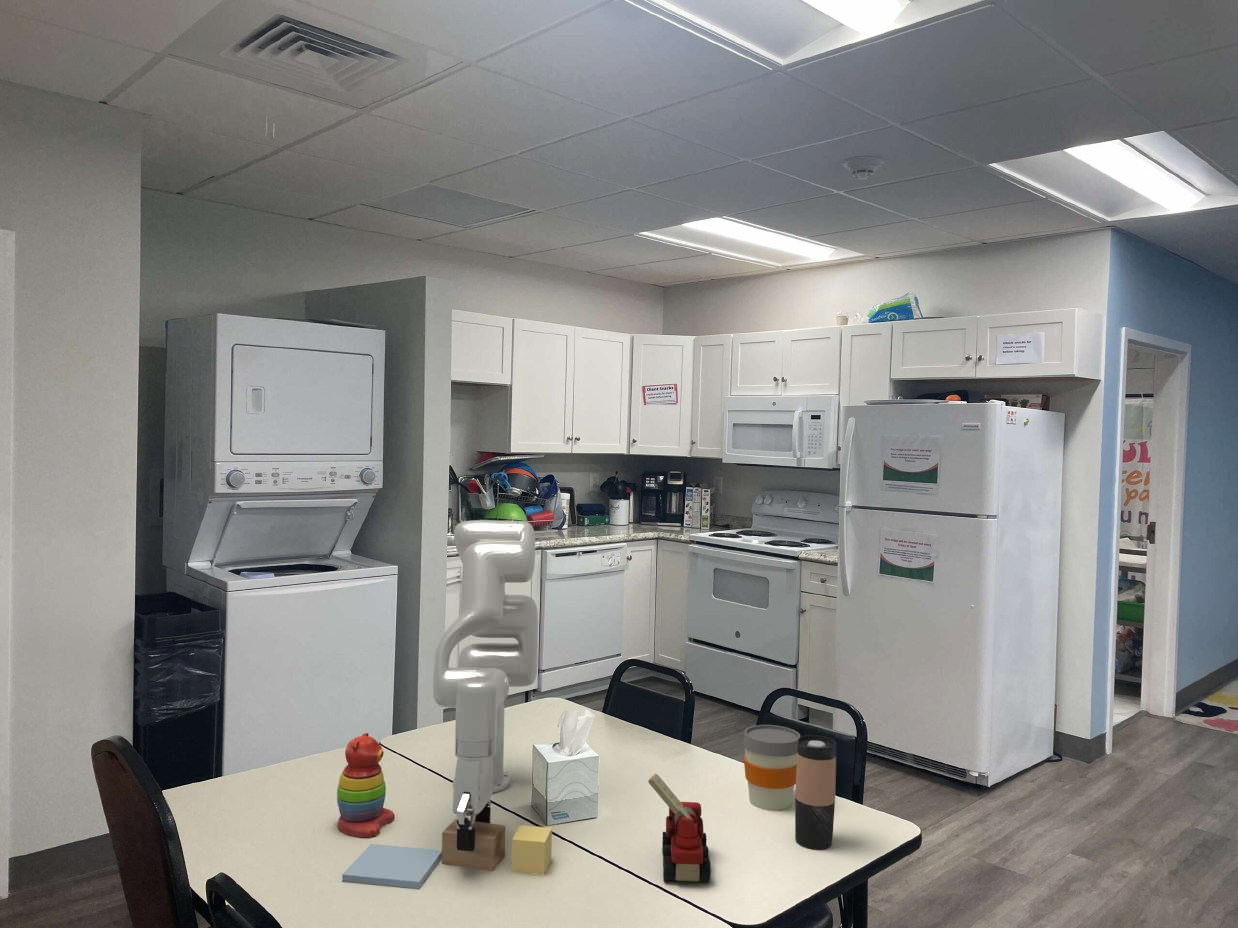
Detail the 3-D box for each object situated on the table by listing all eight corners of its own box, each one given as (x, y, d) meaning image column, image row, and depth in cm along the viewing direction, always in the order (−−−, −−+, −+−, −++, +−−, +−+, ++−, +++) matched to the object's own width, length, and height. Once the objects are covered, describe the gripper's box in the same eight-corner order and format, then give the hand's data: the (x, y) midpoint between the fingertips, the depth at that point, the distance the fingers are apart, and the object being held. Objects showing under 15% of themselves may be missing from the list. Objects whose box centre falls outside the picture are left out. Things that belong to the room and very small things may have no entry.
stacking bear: (373, 839, 174) (374, 748, 174) (325, 833, 176) (326, 743, 176) (398, 816, 185) (399, 730, 184) (352, 811, 187) (353, 725, 186)
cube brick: (519, 856, 169) (520, 824, 169) (551, 859, 168) (551, 827, 168) (511, 871, 163) (512, 839, 163) (544, 874, 162) (544, 842, 162)
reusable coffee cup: (774, 818, 188) (776, 747, 188) (729, 799, 198) (731, 731, 197) (811, 803, 196) (813, 735, 196) (766, 785, 206) (768, 720, 205)
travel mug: (835, 836, 181) (838, 737, 180) (831, 853, 173) (834, 750, 173) (796, 830, 183) (799, 732, 182) (791, 846, 176) (794, 744, 175)
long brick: (455, 849, 171) (455, 818, 171) (504, 856, 169) (505, 825, 169) (441, 864, 165) (442, 831, 165) (492, 871, 163) (493, 839, 163)
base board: (370, 849, 170) (370, 843, 170) (442, 856, 168) (442, 850, 168) (342, 880, 158) (342, 874, 158) (419, 888, 156) (419, 881, 156)
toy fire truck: (705, 848, 174) (708, 757, 174) (710, 888, 159) (713, 789, 158) (646, 845, 175) (648, 755, 174) (645, 886, 159) (648, 787, 159)
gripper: (470, 730, 175) (468, 818, 176) (440, 760, 158) (438, 857, 158) (507, 733, 174) (506, 821, 174) (481, 763, 157) (479, 861, 157)
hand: (473, 838), depth 166 cm, fingers open, 9 cm apart
